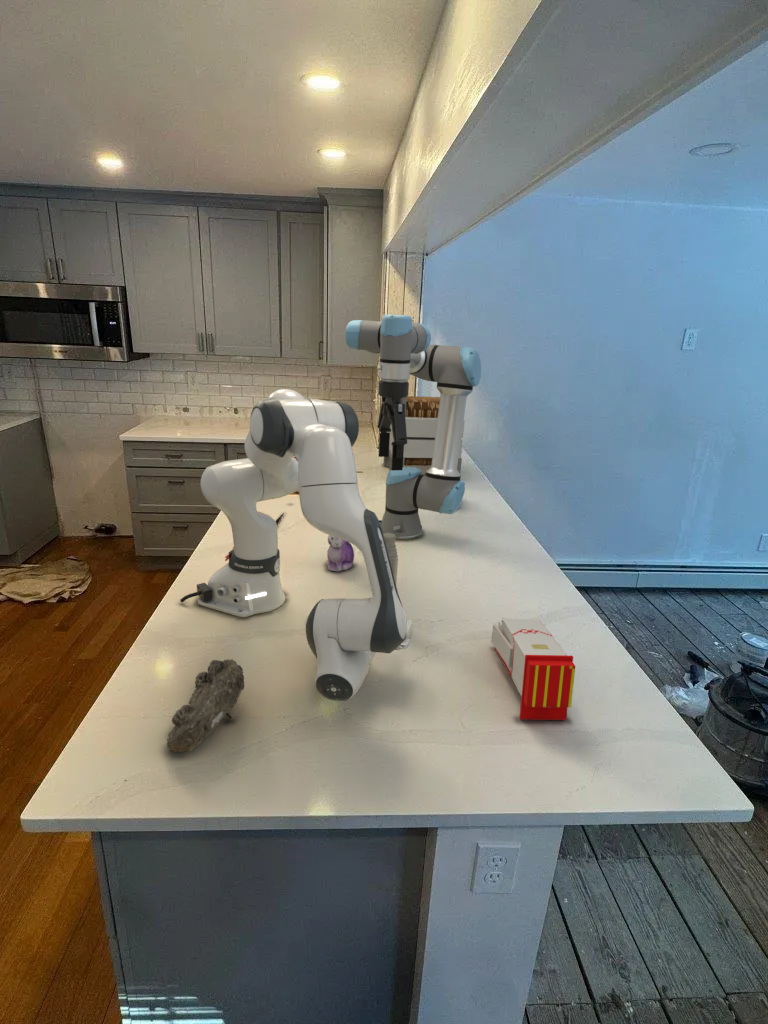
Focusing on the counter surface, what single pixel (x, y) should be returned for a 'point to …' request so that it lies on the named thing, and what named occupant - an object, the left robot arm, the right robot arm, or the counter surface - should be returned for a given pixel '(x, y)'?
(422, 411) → the white wooden crate
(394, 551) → the bottle
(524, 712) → the toy
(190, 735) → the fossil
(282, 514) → the feather
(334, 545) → the figurine
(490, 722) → the counter surface
